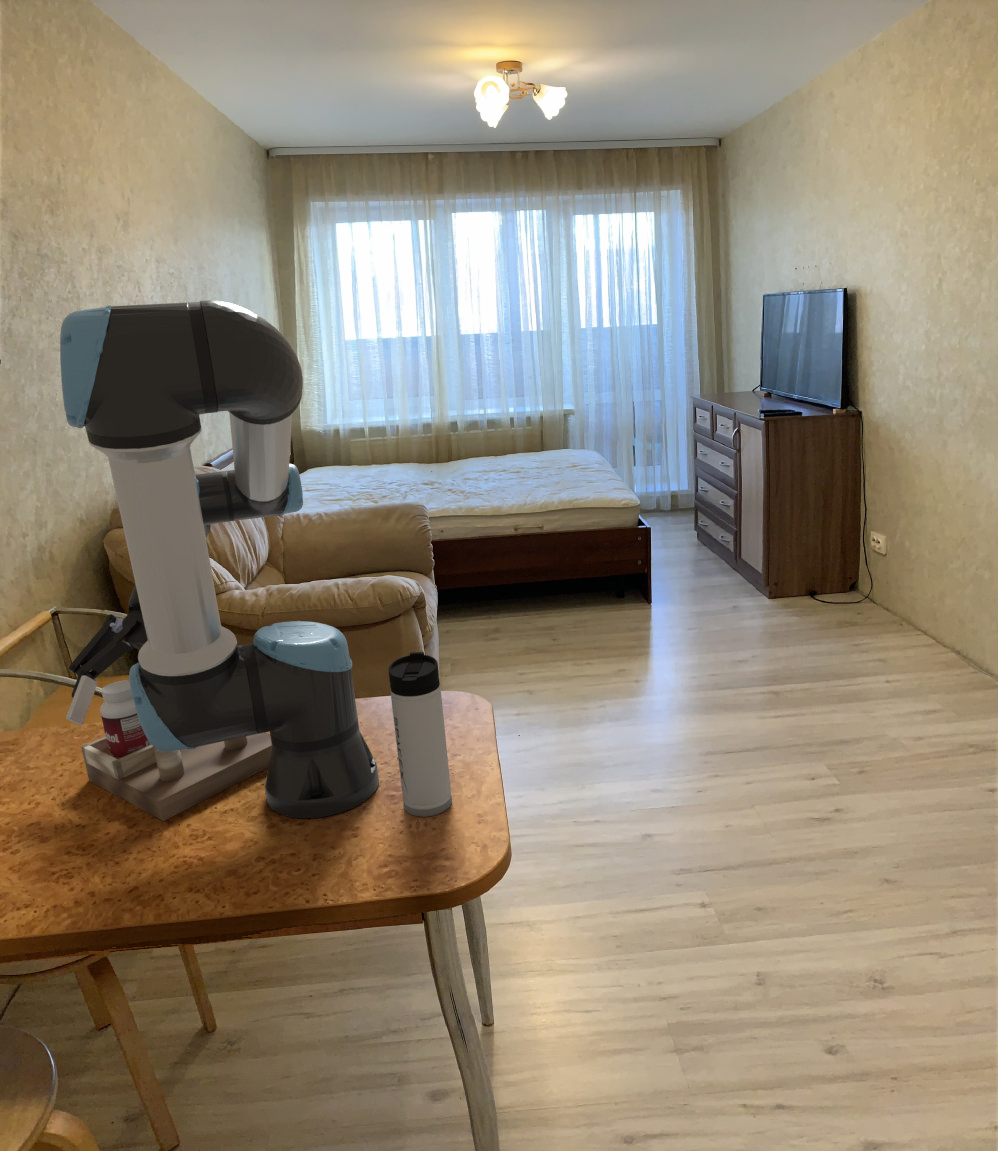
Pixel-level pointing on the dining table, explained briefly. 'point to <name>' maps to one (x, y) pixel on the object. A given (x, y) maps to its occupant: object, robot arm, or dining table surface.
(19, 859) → the dining table surface
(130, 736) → the pill bottle
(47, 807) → the dining table surface
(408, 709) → the travel mug
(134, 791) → the wooden organizer tray
